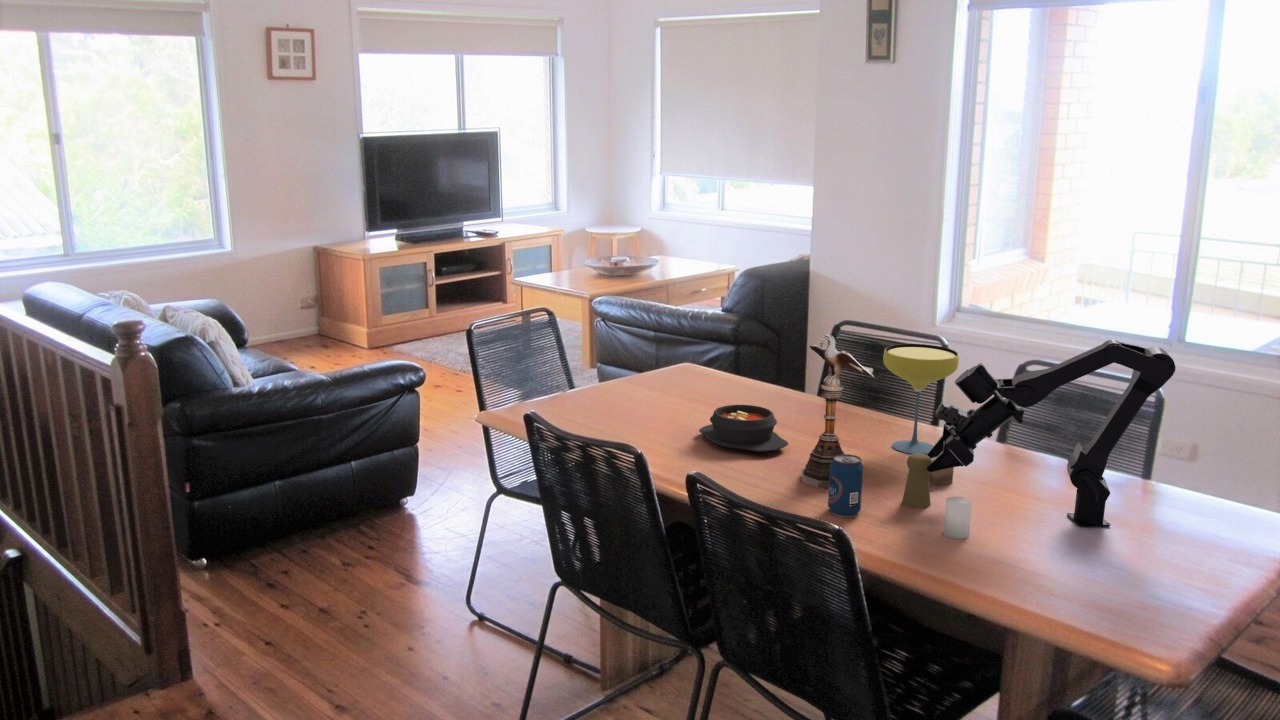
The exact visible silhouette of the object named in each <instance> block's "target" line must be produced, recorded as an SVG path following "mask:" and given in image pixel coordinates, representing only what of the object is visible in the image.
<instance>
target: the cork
mask: <svg viewBox="0 0 1280 720" xmlns="http://www.w3.org/2000/svg"><path fill="white" fill-rule="evenodd" d="M931 462H932V460H931V458H930V457H929V456H927V454H920V453H915V454H909V456H908V457H907V459H906V466H907V468H908V472H907V477H906V482H905V485H904V490H903V494H902V500H901V503H902V504H903V505H904V506H906V507H910V508H913V509H926V508H929V507H930V506H931V504H932V503H931V491H930V483H929V471H928V470H927V467H928V466H929V465H930V463H931Z"/></svg>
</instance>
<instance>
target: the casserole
mask: <svg viewBox="0 0 1280 720" xmlns="http://www.w3.org/2000/svg"><path fill="white" fill-rule="evenodd" d="M709 422H710V423H711V424H707V425H705V426H702V427H701V428H699V430H698V432H699V433H700V434H702V435H704V437H706V438H707V440H709V441H710V442H711V443H713V444H715V445H718V446H721V447H724V448H727V449H730V450H731V449H732V450H735V451H736V450H738V451H751V452H756V453H757V452H758V453H765V452H773V451H778V450H780V449H783V448H785V447H787V446H788V445H789V442H788V441H787V440H785V439H784V438H782V437H780V436H779V435H778V434H777V433H776V432H775V431H774V428H775V426H776V425H777V424H778V421H777V419H776V418H775V415H774V412H773V410H770V409H768V408H766V407H762V406H756V405H750V404H731V405H723V406H720V407H717V408H716V409H714V411H713V414H712V416H710V418H709Z"/></svg>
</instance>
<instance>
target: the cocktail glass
mask: <svg viewBox="0 0 1280 720" xmlns="http://www.w3.org/2000/svg"><path fill="white" fill-rule="evenodd" d="M882 358H883V365H884V366H885V367H886V368H887V370H889V372H890V373H892V374H894V375H895V376H897V377H899V378H901V379H902V380H904V381H906V382H907V383H908V384H910V386H911V387H912V389H913V390H914V392H915V391H916V402H915V413H914V414H915V415H914V424H913V432H912V436H911V439H909V440H908V439H907V440H899V441H895V442H892V444H891V447H892V448H893V449H894V450H895V451H897V452H899V453H903V454H907V455H911V454H915V453H920V454H925V455H927V454H928V452H929V451H930V450H931V449H932V448H933V446H934V445H933V444H931V443H928V442H926V441H919V440H918V417H919V402H920V393H921V392H922V391H924V389H926V388H927V386H928V385H930V384H933V383H935V382H937V381H939V380H940V381H941V380H942V379H945V378H947V377H949V376H951V375H952V374H953V373H955V372H956V371H957V370H958V367H959V363H960V356H959V353H958V352H957V351H956V350H953V349H951V348H948V347H944V346H939V345H933V344H924V343H923V344H922V343H921V344H920V343H902V344H901V343H899V344H894V345H893V344H892V345H889V346H887V347H885V348H884V350H883V357H882Z"/></svg>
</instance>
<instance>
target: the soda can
mask: <svg viewBox="0 0 1280 720" xmlns="http://www.w3.org/2000/svg"><path fill="white" fill-rule="evenodd" d="M864 469H865V467H864V466H863V463H862V458H861V457H859V456H857V455H855V454H854V455H853V454H846V453H844V454H840V455H836V456H834V458H833V461H832V463H831V464H830V476H829V488H828V496H827V507H828V509H829V511H830V513H831V514H833V515H834V516H836V517H840V518H853V517H856V516H857V515H858V514H859V512H860V511H861V509H862V497H863V485H864V484H863V483H864Z"/></svg>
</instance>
